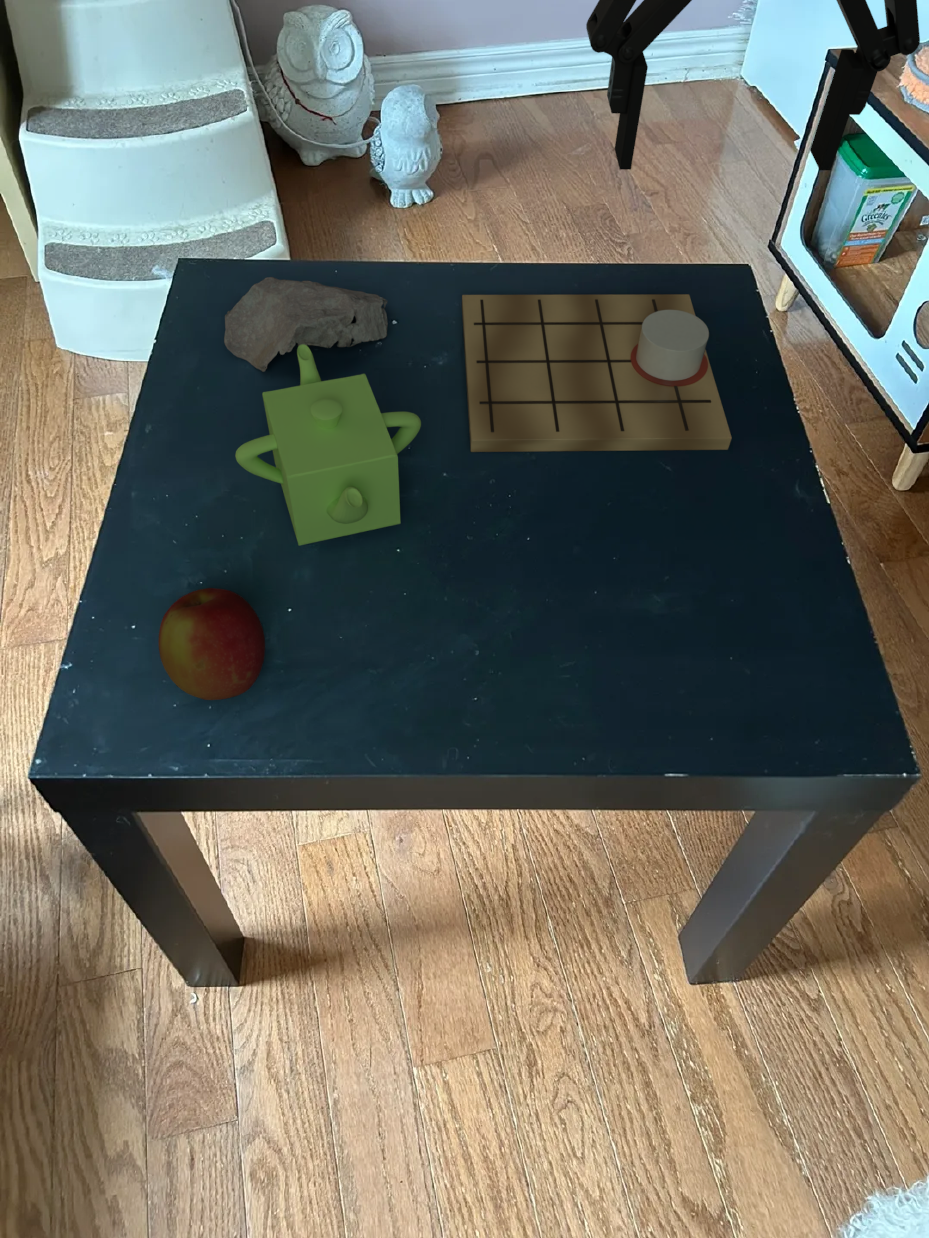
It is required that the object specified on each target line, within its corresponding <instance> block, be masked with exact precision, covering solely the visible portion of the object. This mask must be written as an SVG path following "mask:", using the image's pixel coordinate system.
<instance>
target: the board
mask: <svg viewBox="0 0 929 1238" xmlns="http://www.w3.org/2000/svg"><path fill="white" fill-rule="evenodd" d="M661 310H679V311H684V312H687V313H690V314H692V315H694V316H696V313H695V310H694V306H693V303H692V300H691V295H690V294H689V293H688V294H686V293H685V294H683V293H681V294H677V293H675V294H674V293H673V294H671V293H670V294H663V293H662V294H661V293H658V294H657V293H656V294H654V293H653V294H652V293H651V294H650V293H649V294H642V293H641V294H462V295H461V317H462V318H461V319H462V335H463V349H464V364H465V380H466V381H465V383H466V397H467V398H466V399H467V414H468V429H469V431H468V432H469V446H470V447H469V448H470V449H469V450H470V452H471V453H508V452H509V453H510V452H511V453H513V452H515V453H517V452H520V453H521V452H523V453H524V452H526V453H527V452H528V453H529V452H530V453H531V452H617V451H619V452H620V451H622V452H623V451H624V452H625V451H627V452H628V451H630V452H631V451H635V452H636V451H637V452H638V451H728V450H729V448H730V445H731V442H732V435H731V430H730V427H729V424H728V420H727V417H726V414H725V411H724V408H723V404H722V399H721V397H720V393H719V390H718V387H717V383H716V381H715V377H714V374H713V370H712V366H711V364H710V363H711V362H710V360H709V356H708V353H707V350H706V349H707V348H706V349H705V352H704V356H703V360H702V363H701V367H700V369H699V371H698V372H697V373H696V374H695V375H693V376H692V377H690V378H687V379H684V380H676V381H670V380H663V379H659V378H656V377H653V376H651V375H649V374H648V373H646V372H645V371H644V370H642V369H641V367H640V366H639V365H638V363H637V360H636V352H637V347H638V342H639V338H640V333H641V328H642V324H643V321H644V320H645V318H646V317H648V316H649V315H650V314H652V313H654V312H657V311H661Z"/></svg>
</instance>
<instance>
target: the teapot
mask: <svg viewBox="0 0 929 1238" xmlns="http://www.w3.org/2000/svg"><path fill="white" fill-rule="evenodd" d="M296 355H297V361H298V365H299V374H300V378H299V379H300V380H299V381H300V382H299V383H300V384H299V385H296V386H291V387H285V388H280V389H275V390H269V391H263V392H262V400H263V406H264V411H265V416H266V423H267V427H268V433H269V434H268V435H264V436H260V437H257V438H254V439H251V440H249V441H246V442H244V443H243V444H242V445H240V446H239V447H238V448H237V449H236V451H235V460H236V462H237V463H238V464H239V466H240V467H241V468H242V469H244V470H246V471H247V472H249V473H250V474H251V475H254V476H257V477H259V478H262V479H266V480H269V481H270V482H271V481H272V482H275V483H278V484H280V485H281V490H282V491H283V496H284V500H285V503H286V507H287V510H288V513H289V518H290V521H291V524H292V528H293V531H294V535H295V537H296V541H297V545H298V546H304V545H308V544H313V543H318V542H322V541H327V540H332V539H335V538H340V537H346V536H350V535H355V534H359V533H364V532H367V531H373V530H377V529H382V528H386V527H392V526H396V525H401V503H400V502H401V501H400V477H399V455H398V454H399V453H400V452H402V451H403V450H404V449H405V448H406V447H408V446H409V445H410V444H411V443H412V441H413V440H414V439H415V438H416V437H417V435H418V433H419V432H420V430H421V428H422V421H421V418H420V417H419V415H418V414H416V413H414V412H410V411H389V412H381V409H380V407H379V405H378V403H377V400H376V398H375V395H374V392H373V389H372V387H371V385H370V382H369V379H368V377H367V375H366V373H361V374H355V375H351V376H346V377H339V378H333V379H328V380H322V378H321V376H320V373H319V371H318V369H317V365H316V362H315V358H314V354H313V353H312V350H311V349H310V347H309V345H304V344H303V345H300V346H297V349H296ZM395 427H396V428H397V427H398V430H397V432H396V433H395V434H394V435H393V437H392V438H391V436H390V435H391V434H390V432H389V431H388V428H395ZM270 451H272V455H273V461H274V464H275V466H274V465H271V464H269V463H267V462H266V461H265V460H263V459H262V458H260V457H259V455H262V454H264V453H268V452H270Z"/></svg>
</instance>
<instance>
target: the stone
mask: <svg viewBox="0 0 929 1238" xmlns="http://www.w3.org/2000/svg"><path fill="white" fill-rule="evenodd" d="M387 304H388V300H387V299H386V298H384V297H383V296H382V297H381V296H380V295H379V294H374V293H366V292H365V291H360V290H354V289H353V290H351V289H348V288H343V287H339V286H329V285H325V284H322V283H320V282H317V281H311V280H310V279H309V280H302V281H299V280H292V279H278V278H276V277H273V276H270V277H264V278H263V279H262V280H261V281H259V282H257V283H254V284H253V285H251V287H250V288H249V290H248V291H247V292H246V293H245V295H242V297H241V298H240V299H239V300H238V302H237V303H236V304H235V305H234V306H233V308H232V309H231V310H227V312H226V313H225V314H224V327H225V331H224V337H223V343H224V345H225V347H226V349H227V350H228V351H229V352H230V353H232V354H233V355H234V356H235V357H237V358H239V359H242V360H245V361H247V362H248V363H249V364H250V365H251V366H253V367H254V368H256V369H257V370H259V371H261V372H262V373H264V372H266V370H268V368H269V367H268V365H269V364H270V362H271V361H272V360H273V359H274V358H275V357H276V356H277V354H278V353H279V354H280V355H282V356H283V355H285V353H290V352H292V350H293V348H294V347H295V346H296V344H297V347H299V346H300V345H303V344H304V345H306V346H314V347H315V346H316V347H321V348H326V349H331V348H332V347H333V346H334V345H335V344H336V343H337V344H336V346H337V347H338V348H346V347H347V348H351V347H354V346H355V345H358V344H361V343H362V342H363V343H366V342H367V343H369V342H374V341H379V340H383V339H385V338H386V337H387V336H388V327H389V326H388V325H389V324H388V316H387V312H386V305H387ZM382 306H383V307H382ZM354 318H355V322H354V323H353V320H354Z"/></svg>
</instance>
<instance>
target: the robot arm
mask: <svg viewBox="0 0 929 1238" xmlns="http://www.w3.org/2000/svg"><path fill="white" fill-rule="evenodd" d="M692 1H693V0H642V1H641V3H639V5H637V7H636V8H635V9H634V10H633V11H632V9H633V7H634V5H635V4H636V3H637V0H598V2H597V3H596V5H595V7H594V8H593V10H592V12H591V14H590V16H589V17H588V19H587V21H586V24H585V25H586V26H585V27H586V28H585V29H586V32H587V37H588V40H589V44H590V48H591V50H592V51H594V52H595V53H597V54H599V53H604V54H607V55H609V56H610V57H611V62H610V71H609V76H608V83H607V93H606V98H607V101H608V105H609V109H610V113H611V114H619V115H618V116H619V117H618V122H617V123H618V124H617V131H616V136H615V143H614V152H615V156H616V160H617V164H618V169H619V170H621V171H622V170H623V171H625V170H628V171H629V170H630V171H631V170H632V165H633V159H634V153H635V146H636V140H637V136H638V129H639V122H640V116H641V110H642V104H643V99H644V91H645V86H646V81H647V75H648V74H647V73H648V68H649V66H648V63H647V60H646V56H645V54H644V52H645V50H646V49H647V48H648V47H649V46H651V44H652V43H653V42H654V41H655V40H656V39H657V38H658V37H659V36H660V35H661V34H662V33H663V32H664V30H665V29H666V28H667V27H668V26H669V25H670V24H671V23H672V22H673V21H674V20H675V19H676V18H677V17H678V16H679V15H680V14H681V13H682V12H683V10H684V9H685V8H686V7H687V6H688V5H689V4H690V3H691V2H692ZM836 3H837V4H838V5H837V6H838V7H839V9H840V11H841V14H842V16H843V18H844V21H845V23H846V25H847V27H848V30H849V31H850V34H851V36H852V38H853V40H854V43H855V45H856V50H854V49H852V48H850V49H849V48H848V49H847V48H846V49H845V48H841V49H840V53H839V55H838V59H837V62H836V66H835V69H834V72H833V75H832V78H831V82H830V83H829V84H830V85H829V88H828V91H827V94H826V97H825V101H824V104H823V107H822V110H821V114H820V115H819V120H818V123H817V126H816V129H815V132H814V136H813V139H812V142H811V145H810V148H809V151H810V153H811V155H812V157H813V160H814V161H815V164H816V166H817V167H818V170H819V171H832V168H833V165H834V162H835V160H836V156H837V153H838V150H839V147H840V144H841V141H842V139H843V135H844V133H845V131H846V130H845V129H846V126H847V123H848V120H849V118H850V116H860V115H861V114H862V112H863V111H864V110H865V108H866V106H867V103H868V100H869V97H870V95H871V91H872V88H873V86H874V83H875V80H876V77H877V75H878V72H879V73H880V72H882V71H884V70H885V69H886V68H888V67H889V65H890V63H891V60H892V57H893V56H896V55H903V56H909V55H912V54H913V53H915V52H916V51H917V50H918V49H919V46H920V44H921V36H920V24H919V23H920V22H919V12H918V1H917V0H883V3H884V10H885V11H884V12H885V20H886V26H883V27H878V26H877V24H876V23H877V22H876V21H875V19H874V16H873V13H872V11H871V9H870V7H869V5H868V2H867V0H836ZM631 11H632V12H631ZM630 12H631V13H630ZM629 14H630V15H629Z"/></svg>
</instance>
